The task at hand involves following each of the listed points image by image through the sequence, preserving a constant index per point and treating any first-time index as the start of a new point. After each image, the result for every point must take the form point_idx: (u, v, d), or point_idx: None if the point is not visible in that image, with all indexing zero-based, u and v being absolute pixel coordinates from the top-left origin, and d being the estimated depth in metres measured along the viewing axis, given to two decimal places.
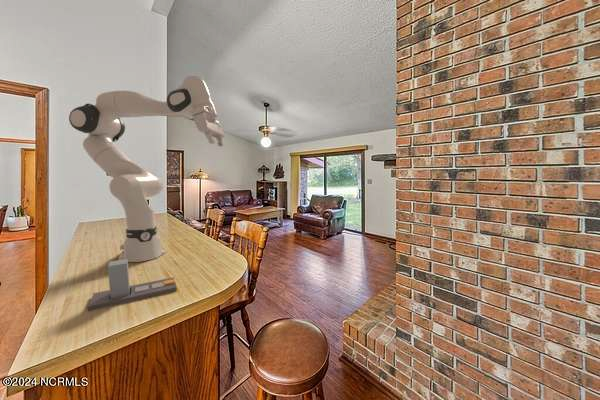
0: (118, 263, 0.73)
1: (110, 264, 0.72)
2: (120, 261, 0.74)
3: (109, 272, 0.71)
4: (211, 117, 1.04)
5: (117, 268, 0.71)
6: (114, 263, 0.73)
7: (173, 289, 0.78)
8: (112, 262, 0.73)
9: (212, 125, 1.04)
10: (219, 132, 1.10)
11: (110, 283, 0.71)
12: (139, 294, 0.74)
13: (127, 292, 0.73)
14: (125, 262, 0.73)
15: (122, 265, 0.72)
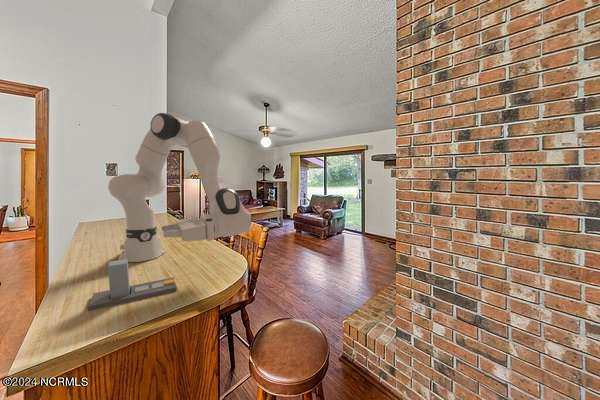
0: (118, 263, 0.73)
1: (110, 264, 0.72)
2: (120, 261, 0.74)
3: (109, 272, 0.71)
4: None
5: (117, 268, 0.71)
6: (114, 263, 0.73)
7: (173, 289, 0.78)
8: (112, 262, 0.73)
9: None
10: None
11: (110, 283, 0.71)
12: (139, 294, 0.74)
13: (127, 292, 0.73)
14: (125, 262, 0.73)
15: (122, 265, 0.72)
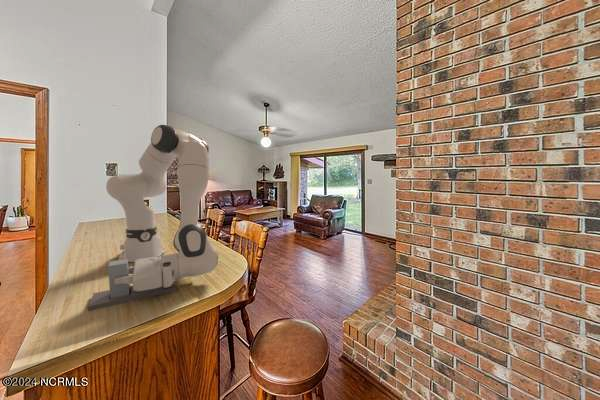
0: (118, 263, 0.73)
1: (110, 264, 0.72)
2: (120, 261, 0.74)
3: (109, 272, 0.71)
4: None
5: (117, 268, 0.72)
6: (114, 263, 0.73)
7: (173, 289, 0.78)
8: (112, 262, 0.73)
9: None
10: None
11: (110, 283, 0.71)
12: (139, 294, 0.74)
13: (127, 292, 0.73)
14: (125, 262, 0.73)
15: (123, 265, 0.72)
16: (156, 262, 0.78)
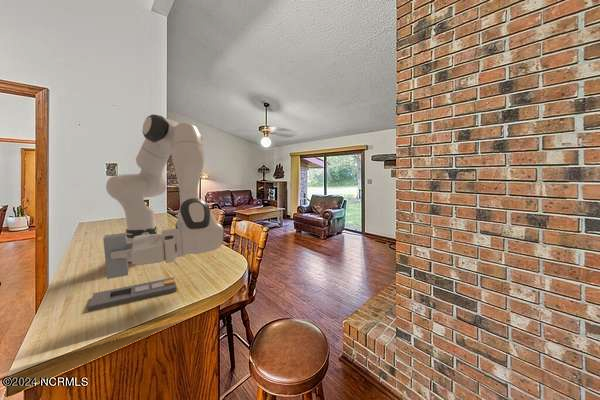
0: (115, 235, 0.65)
1: (106, 237, 0.64)
2: (117, 234, 0.67)
3: (105, 245, 0.63)
4: None
5: (114, 241, 0.64)
6: (110, 236, 0.65)
7: (173, 289, 0.78)
8: (108, 235, 0.66)
9: None
10: None
11: (106, 257, 0.64)
12: (139, 294, 0.74)
13: (125, 268, 0.66)
14: (122, 235, 0.66)
15: (120, 238, 0.65)
16: (157, 236, 0.70)
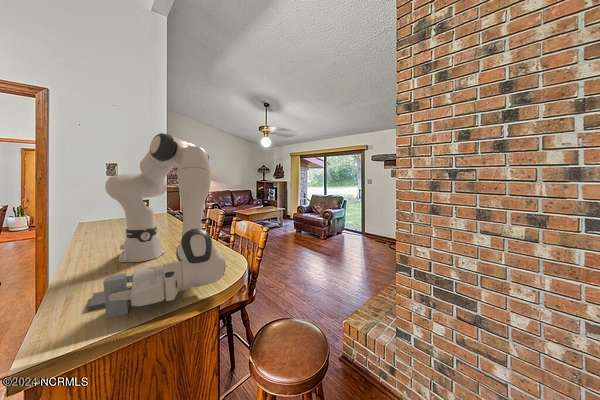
0: (115, 278, 0.65)
1: (106, 279, 0.64)
2: (117, 275, 0.66)
3: (105, 289, 0.62)
4: None
5: (114, 284, 0.63)
6: (110, 278, 0.64)
7: None
8: (108, 277, 0.65)
9: None
10: None
11: (106, 301, 0.63)
12: None
13: (125, 310, 0.65)
14: (123, 277, 0.65)
15: (120, 280, 0.64)
16: (157, 272, 0.69)
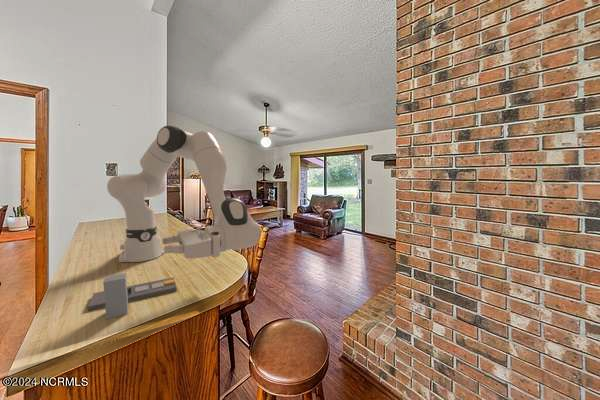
0: (115, 278, 0.65)
1: (106, 279, 0.64)
2: (117, 275, 0.66)
3: (105, 289, 0.62)
4: None
5: (114, 284, 0.63)
6: (110, 278, 0.64)
7: (173, 289, 0.78)
8: (108, 277, 0.65)
9: None
10: None
11: (106, 301, 0.63)
12: (139, 294, 0.74)
13: (125, 311, 0.65)
14: (123, 277, 0.65)
15: (120, 280, 0.64)
16: (202, 232, 0.75)
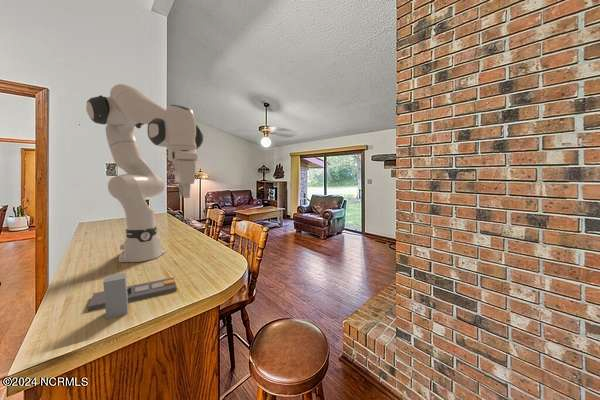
0: (115, 278, 0.65)
1: (106, 279, 0.64)
2: (117, 275, 0.66)
3: (105, 289, 0.62)
4: None
5: (114, 284, 0.63)
6: (110, 278, 0.64)
7: (173, 289, 0.78)
8: (108, 277, 0.65)
9: None
10: None
11: (106, 301, 0.63)
12: (139, 294, 0.74)
13: (125, 310, 0.65)
14: (123, 277, 0.65)
15: (120, 280, 0.64)
16: (173, 164, 0.79)
